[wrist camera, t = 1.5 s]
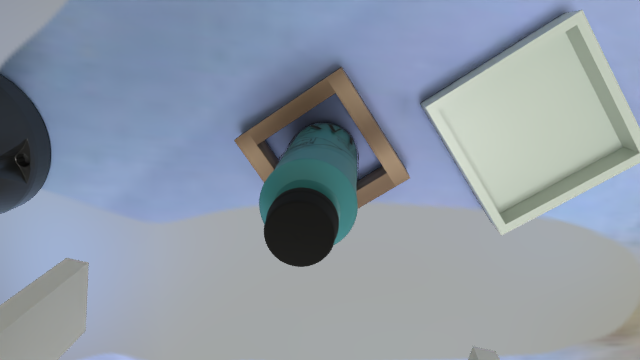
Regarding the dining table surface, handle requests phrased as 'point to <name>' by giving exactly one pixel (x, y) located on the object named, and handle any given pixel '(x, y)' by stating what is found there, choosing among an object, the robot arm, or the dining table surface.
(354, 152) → the beverage bottle
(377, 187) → the socket block
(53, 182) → the dining table surface
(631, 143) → the tray
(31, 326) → the robot arm
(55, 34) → the dining table surface
